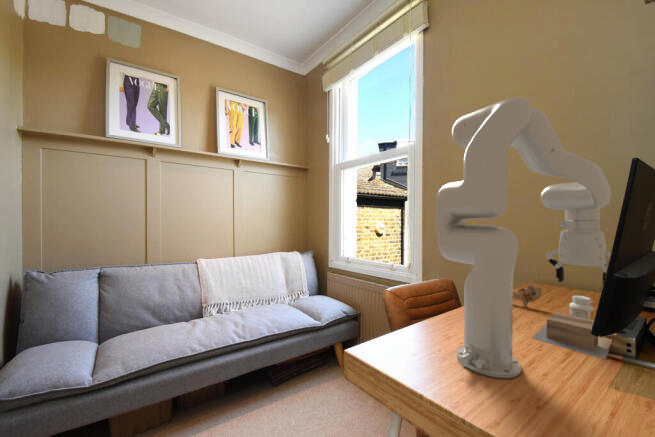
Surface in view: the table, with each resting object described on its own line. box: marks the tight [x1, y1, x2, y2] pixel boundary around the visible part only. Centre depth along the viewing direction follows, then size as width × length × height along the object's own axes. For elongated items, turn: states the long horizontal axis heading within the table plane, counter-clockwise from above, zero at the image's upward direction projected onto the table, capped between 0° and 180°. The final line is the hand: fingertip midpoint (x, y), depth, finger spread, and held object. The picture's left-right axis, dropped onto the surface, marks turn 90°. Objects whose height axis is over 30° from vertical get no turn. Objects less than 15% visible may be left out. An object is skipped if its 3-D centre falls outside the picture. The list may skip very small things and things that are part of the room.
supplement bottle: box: [568, 295, 595, 320], centre depth 80 cm, size 5×5×10 cm
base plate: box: [531, 323, 610, 360], centre depth 73 cm, size 16×14×1 cm
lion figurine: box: [512, 284, 542, 309], centre depth 101 cm, size 15×5×9 cm, turn 45°
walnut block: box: [546, 311, 598, 350], centre depth 73 cm, size 9×9×5 cm
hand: (582, 284), depth 81 cm, fingers open, 9 cm apart
